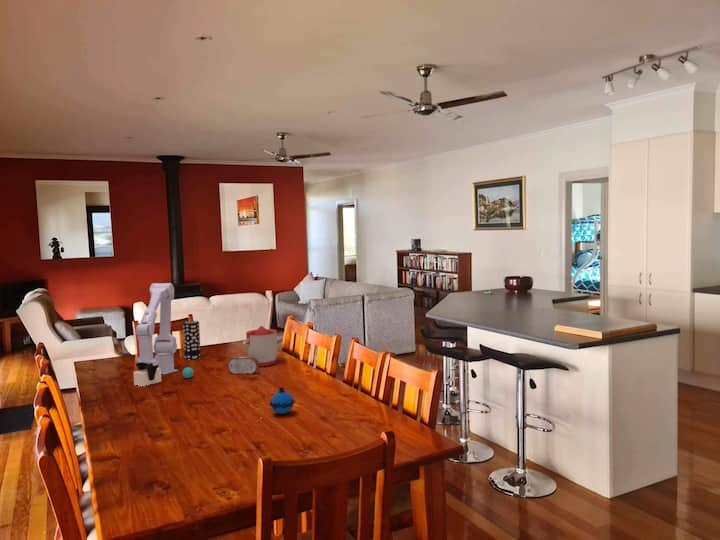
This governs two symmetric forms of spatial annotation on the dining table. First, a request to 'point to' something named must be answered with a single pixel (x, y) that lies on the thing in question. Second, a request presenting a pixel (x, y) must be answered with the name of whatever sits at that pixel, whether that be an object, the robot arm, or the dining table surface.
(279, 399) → the ornament
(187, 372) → the ball
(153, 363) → the robot arm
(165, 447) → the dining table surface
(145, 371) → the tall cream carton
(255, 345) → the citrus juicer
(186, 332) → the white-spotted black cylinder
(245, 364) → the tin
